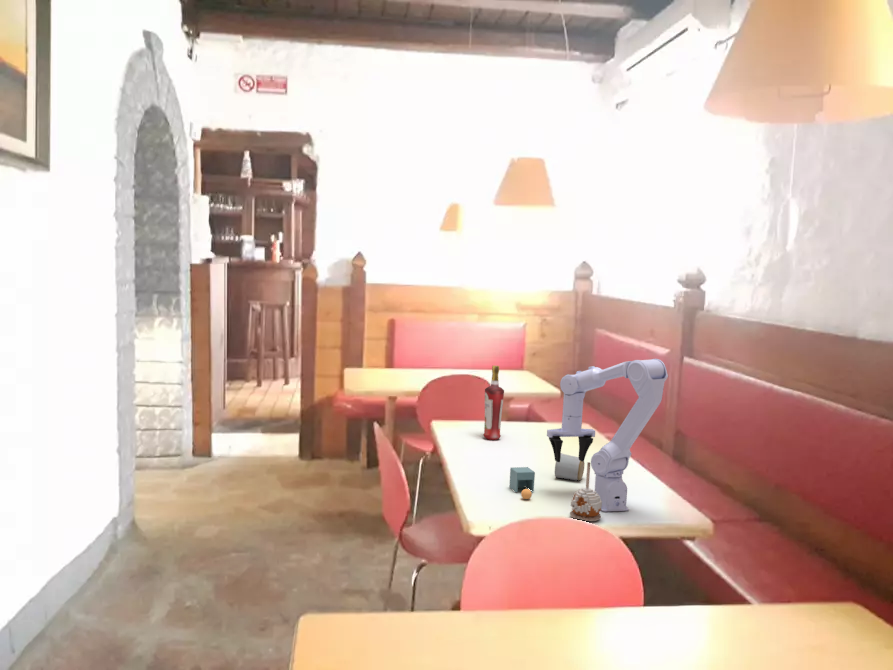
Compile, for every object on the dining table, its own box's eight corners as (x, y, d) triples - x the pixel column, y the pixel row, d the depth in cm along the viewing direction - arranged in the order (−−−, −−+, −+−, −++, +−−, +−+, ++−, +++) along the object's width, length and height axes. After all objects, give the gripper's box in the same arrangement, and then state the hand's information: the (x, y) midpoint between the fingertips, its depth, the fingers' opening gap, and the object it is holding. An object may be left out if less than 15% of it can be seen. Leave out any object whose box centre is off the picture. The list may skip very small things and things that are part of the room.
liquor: (479, 436, 288) (483, 364, 286) (497, 436, 291) (501, 364, 288) (486, 441, 281) (490, 367, 279) (504, 440, 284) (508, 367, 281)
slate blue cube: (533, 492, 219) (534, 472, 219) (516, 492, 218) (517, 472, 217) (526, 486, 224) (527, 467, 224) (509, 487, 223) (510, 467, 222)
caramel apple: (564, 514, 201) (568, 459, 199) (589, 512, 203) (593, 458, 202) (580, 524, 193) (584, 467, 192) (606, 521, 196) (609, 465, 195)
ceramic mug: (579, 483, 231) (581, 459, 230) (553, 479, 233) (555, 455, 233) (586, 476, 240) (587, 452, 240) (560, 472, 243) (562, 449, 243)
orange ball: (533, 500, 211) (533, 490, 211) (523, 501, 210) (523, 490, 210) (529, 497, 214) (529, 487, 214) (519, 497, 213) (519, 487, 213)
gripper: (588, 412, 225) (585, 456, 226) (543, 412, 221) (541, 457, 222) (599, 417, 218) (596, 463, 219) (553, 417, 214) (550, 464, 215)
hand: (569, 460), depth 220 cm, fingers open, 7 cm apart
